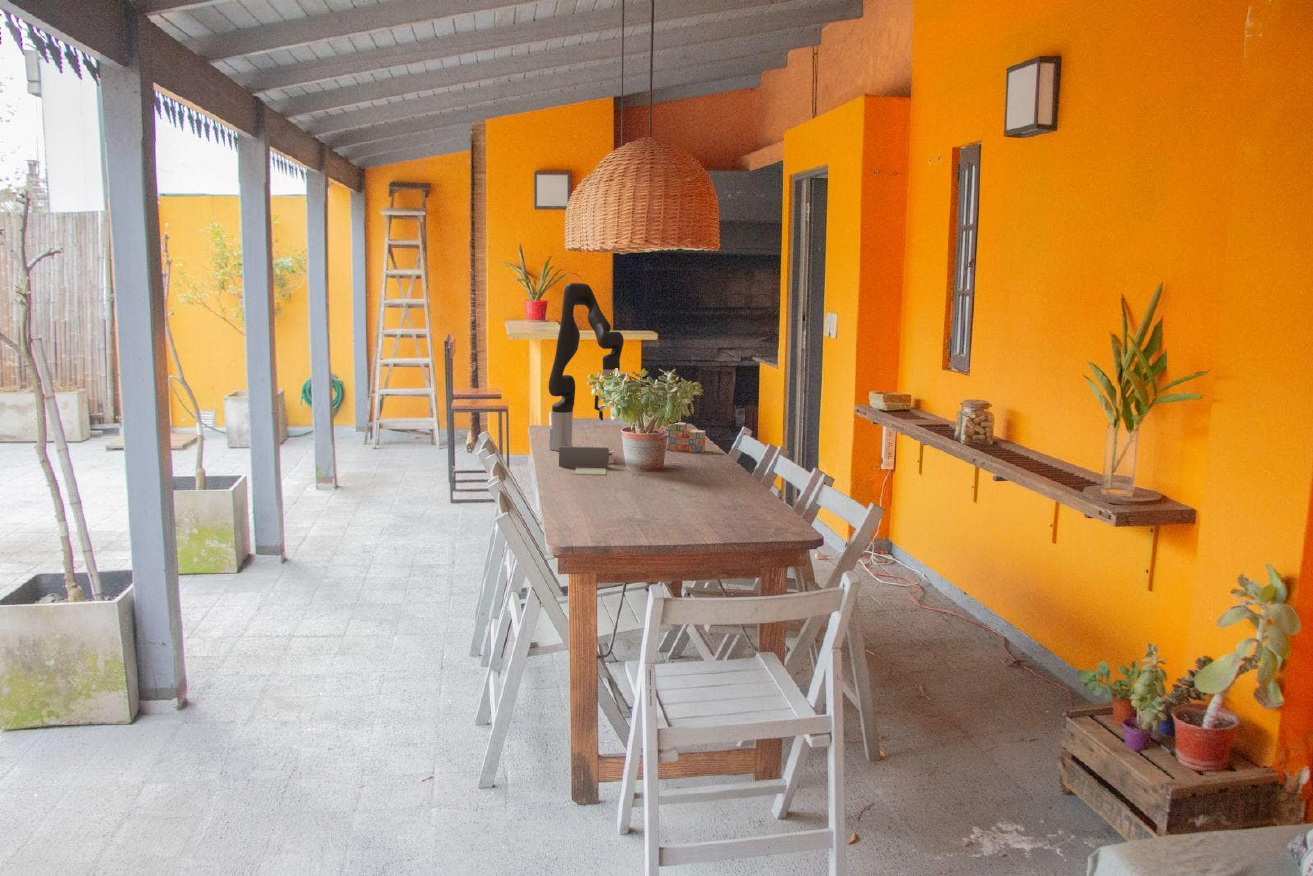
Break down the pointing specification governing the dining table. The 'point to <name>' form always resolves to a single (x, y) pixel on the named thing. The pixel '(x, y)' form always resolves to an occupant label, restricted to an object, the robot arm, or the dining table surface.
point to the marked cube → (610, 456)
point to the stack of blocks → (685, 438)
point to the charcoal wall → (583, 456)
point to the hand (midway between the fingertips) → (612, 420)
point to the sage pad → (590, 471)
